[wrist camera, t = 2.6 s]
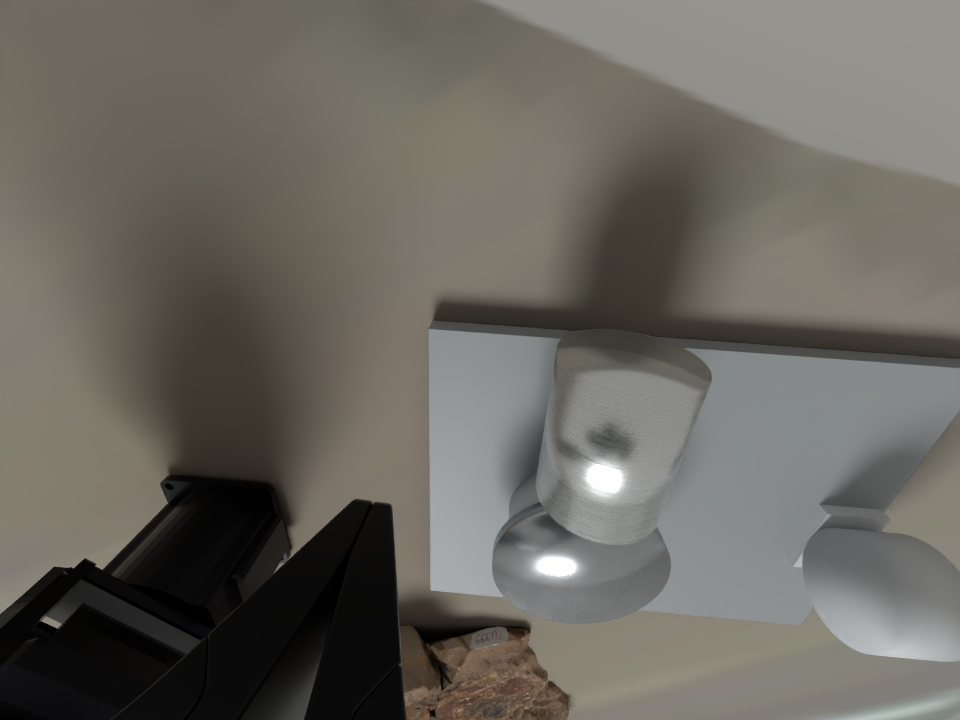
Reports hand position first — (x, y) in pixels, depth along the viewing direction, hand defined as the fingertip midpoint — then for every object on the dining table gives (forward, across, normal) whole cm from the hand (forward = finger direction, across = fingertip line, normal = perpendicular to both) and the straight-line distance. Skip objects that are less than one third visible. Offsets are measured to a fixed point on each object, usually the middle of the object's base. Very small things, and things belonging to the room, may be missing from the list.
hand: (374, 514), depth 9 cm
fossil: (+11, -4, +31) cm, 33 cm away
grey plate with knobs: (+10, -12, +7) cm, 17 cm away
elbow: (+9, -8, +5) cm, 13 cm away
